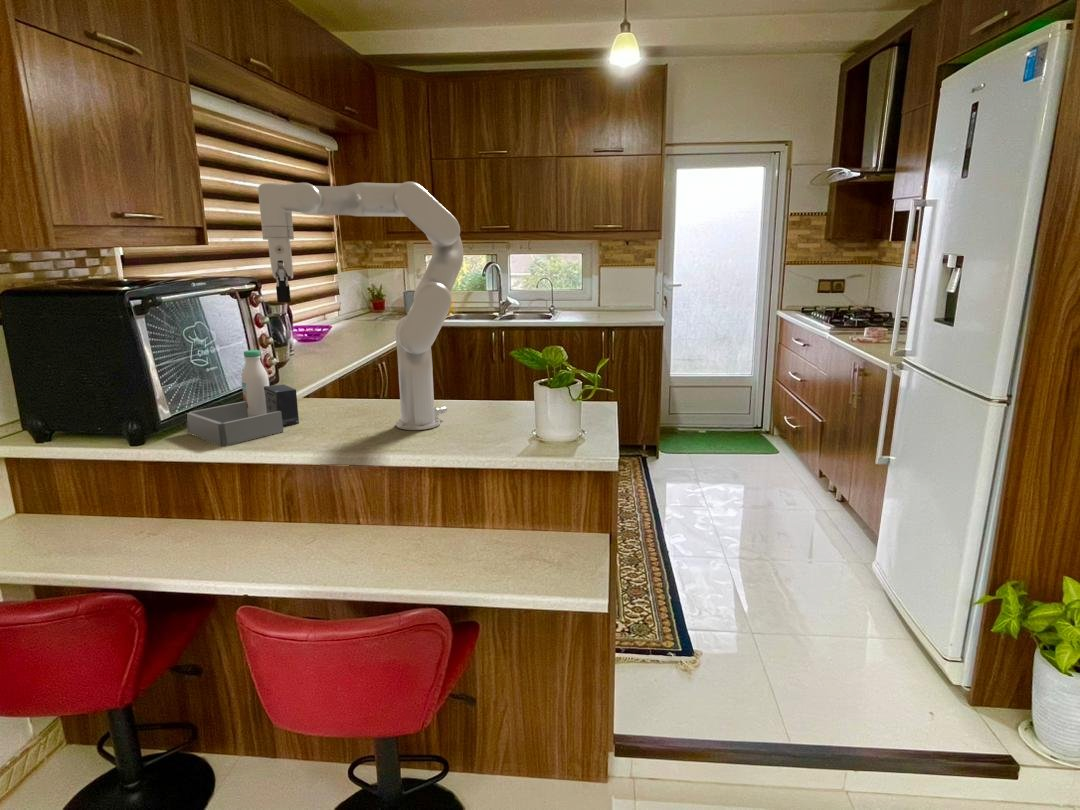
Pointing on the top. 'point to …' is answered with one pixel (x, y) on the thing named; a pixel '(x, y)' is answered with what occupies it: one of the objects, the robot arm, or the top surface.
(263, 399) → the milk bottle
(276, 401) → the small box
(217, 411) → the tray
